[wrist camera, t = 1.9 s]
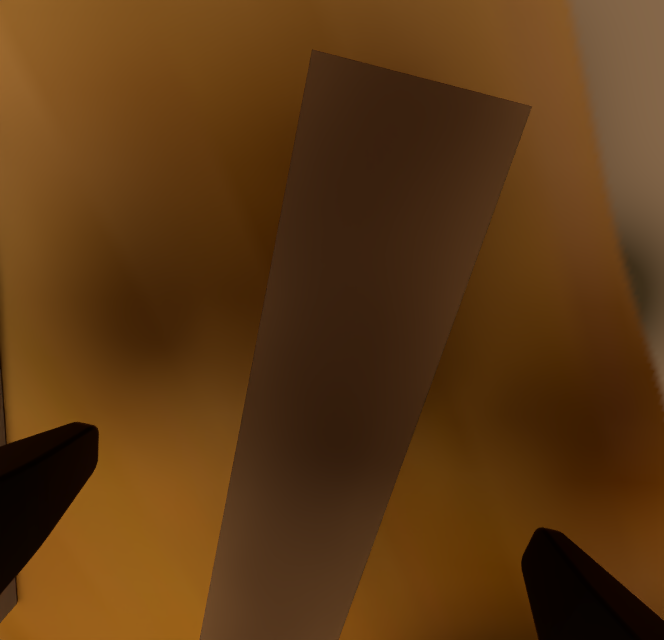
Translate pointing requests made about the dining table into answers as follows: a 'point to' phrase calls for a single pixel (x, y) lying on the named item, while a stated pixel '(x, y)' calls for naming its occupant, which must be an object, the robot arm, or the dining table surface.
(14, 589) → the board
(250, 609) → the rail
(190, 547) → the dining table surface
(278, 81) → the dining table surface
